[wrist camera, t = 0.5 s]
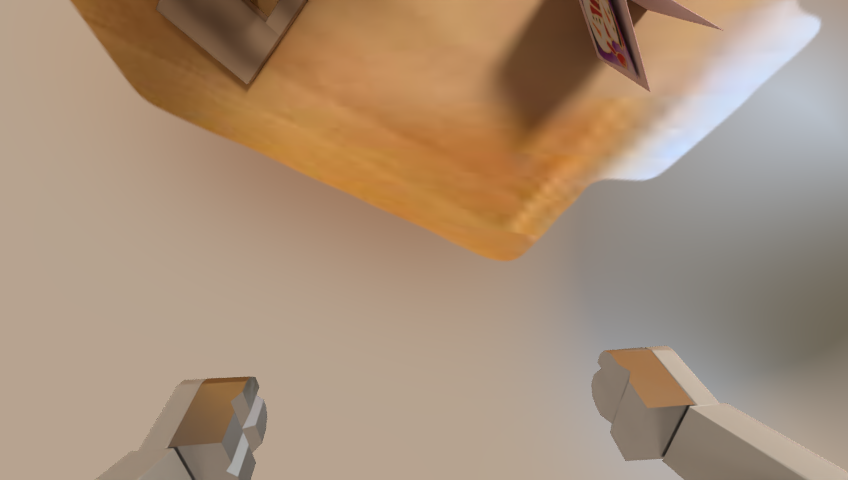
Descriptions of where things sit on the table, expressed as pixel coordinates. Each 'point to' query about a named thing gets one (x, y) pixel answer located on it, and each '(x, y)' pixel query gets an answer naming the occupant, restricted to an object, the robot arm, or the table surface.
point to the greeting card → (627, 32)
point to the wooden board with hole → (233, 29)
